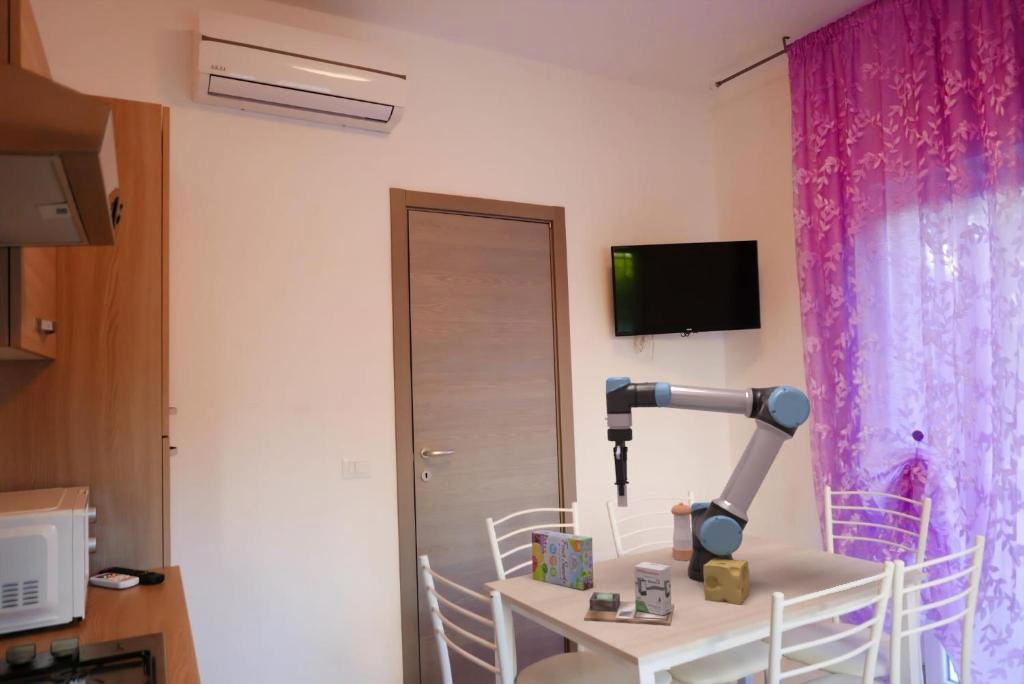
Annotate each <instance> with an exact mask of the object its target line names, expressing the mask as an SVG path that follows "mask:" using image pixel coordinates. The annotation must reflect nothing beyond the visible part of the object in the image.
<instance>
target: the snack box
mask: <svg viewBox="0 0 1024 684" xmlns="http://www.w3.org/2000/svg"><path fill="white" fill-rule="evenodd" d="M531 552H532V553H531V554H532V555H531V556H532V557H531V558H532V559H531V560H532V565H531V566H532V580H535V579H536V581H540V580H541V581H540V582H544V581H546V583H549V582H550V584H553V583H554V584H555V585H559V586H564V587H567V588H572V589H577V590H581V591H584V590H589V589H591V588H594V564H593V563H594V562H593V561H594V559H593V556H594V554H593V537H591V536H584V535H580V534H579V535H578V534H571V533H565V532H557V531H552V530H547V529H546V530H545V529H541V530H535V531H532V532H531Z"/></svg>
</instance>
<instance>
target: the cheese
mask: <svg viewBox="0 0 1024 684" xmlns="http://www.w3.org/2000/svg"><path fill="white" fill-rule="evenodd" d="M703 573H704V582H703V591H704V598H705V601H711V602H727V603H728V604H734V605H738V606H739V605H742V603H743V601H745V600H746V599H747V598H748V597H749V592H750V569H749V561H748V560H747V559H746V560H744V559H734V560H728V559H718V558H713V559H711V560H710V561H709V562H708V563H706V564H705V565H704V569H703Z"/></svg>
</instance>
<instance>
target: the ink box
mask: <svg viewBox="0 0 1024 684" xmlns="http://www.w3.org/2000/svg"><path fill="white" fill-rule="evenodd" d="M671 580H672V579H671V566H669V565H665V564H659V563H653V562H648V561H643V562H640V563H638V564H636V565H634V593H635V594H634V597H635V598H634V600H635V601H634V602H635V606H636V610H639V611H644V612H649V613H654V614H659V615H665V614H667V613H669V612H671V604H672V585H671V583H672V582H671Z"/></svg>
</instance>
